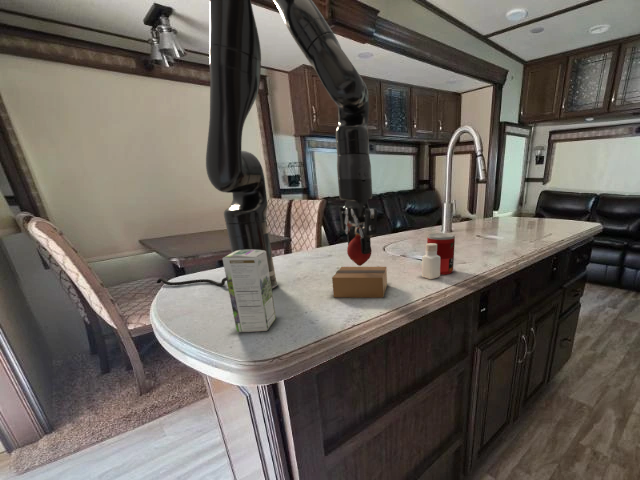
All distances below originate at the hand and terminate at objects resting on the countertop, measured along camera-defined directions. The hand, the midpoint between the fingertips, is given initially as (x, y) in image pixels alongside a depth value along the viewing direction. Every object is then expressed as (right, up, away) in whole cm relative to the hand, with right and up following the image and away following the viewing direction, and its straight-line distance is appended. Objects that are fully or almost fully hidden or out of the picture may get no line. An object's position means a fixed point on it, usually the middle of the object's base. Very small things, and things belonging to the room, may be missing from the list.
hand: (359, 251), depth 77 cm
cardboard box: (0, -10, +4) cm, 10 cm away
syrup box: (-18, -17, -15) cm, 29 cm away
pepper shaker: (+19, -6, +14) cm, 24 cm away
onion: (0, -4, +1) cm, 4 cm away
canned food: (+22, -3, +19) cm, 30 cm away
